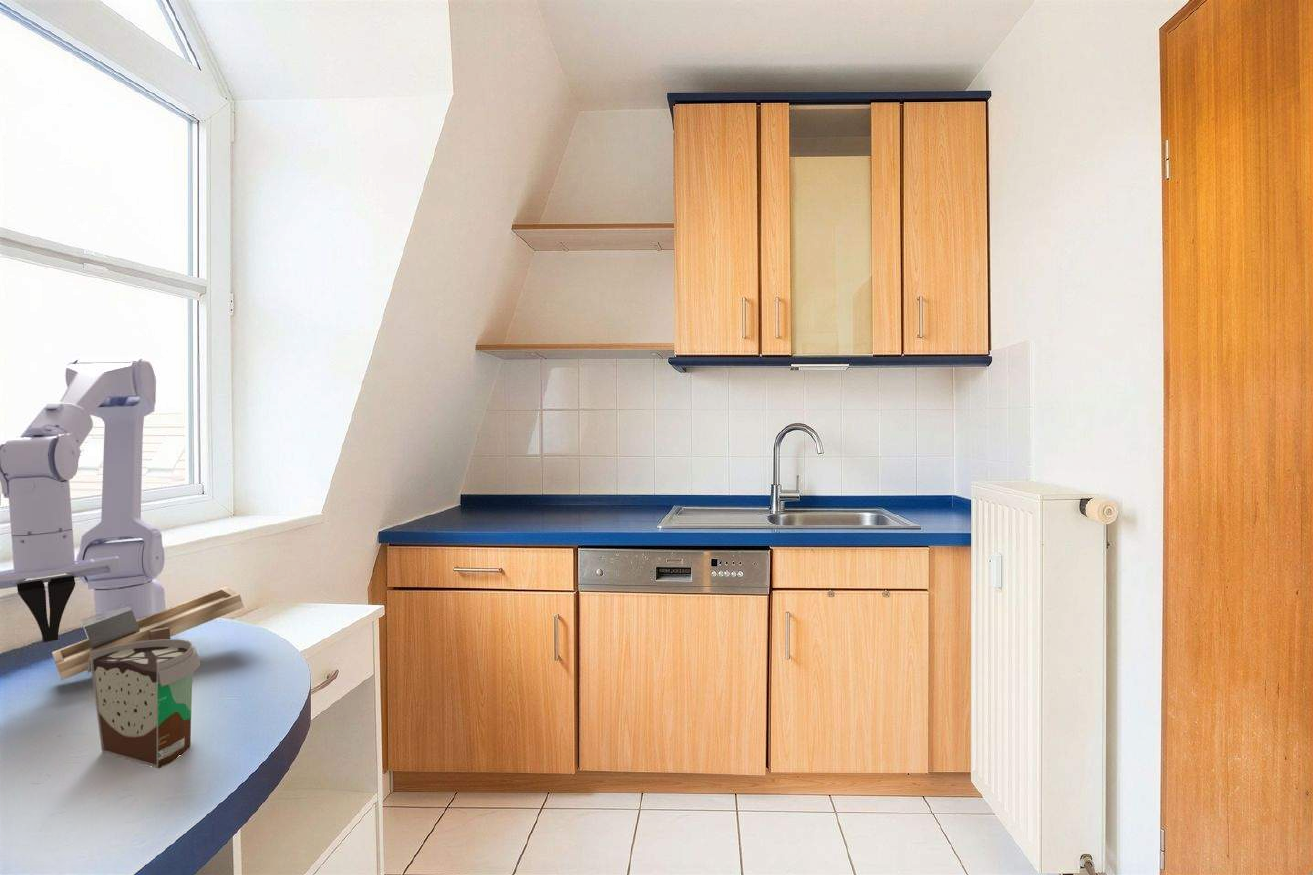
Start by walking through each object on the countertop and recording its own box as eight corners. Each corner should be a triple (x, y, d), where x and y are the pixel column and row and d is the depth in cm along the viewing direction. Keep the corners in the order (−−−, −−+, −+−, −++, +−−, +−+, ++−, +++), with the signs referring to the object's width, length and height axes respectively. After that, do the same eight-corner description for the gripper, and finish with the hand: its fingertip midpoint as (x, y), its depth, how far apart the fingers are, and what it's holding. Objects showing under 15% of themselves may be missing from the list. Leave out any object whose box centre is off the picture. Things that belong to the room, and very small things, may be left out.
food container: (233, 741, 69) (226, 643, 68) (167, 771, 63) (160, 664, 63) (159, 724, 74) (153, 632, 74) (93, 750, 68) (86, 651, 68)
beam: (63, 683, 84) (55, 665, 83) (58, 669, 89) (52, 652, 89) (245, 610, 97) (239, 594, 97) (231, 601, 103) (226, 586, 102)
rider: (95, 655, 87) (84, 627, 86) (91, 647, 90) (80, 620, 90) (142, 637, 90) (132, 609, 89) (136, 630, 94) (126, 603, 93)
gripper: (-42, 544, 77) (-33, 662, 78) (119, 526, 88) (127, 631, 88) (-39, 538, 82) (-31, 649, 83) (113, 522, 93) (119, 621, 93)
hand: (50, 639), depth 86 cm, fingers closed
